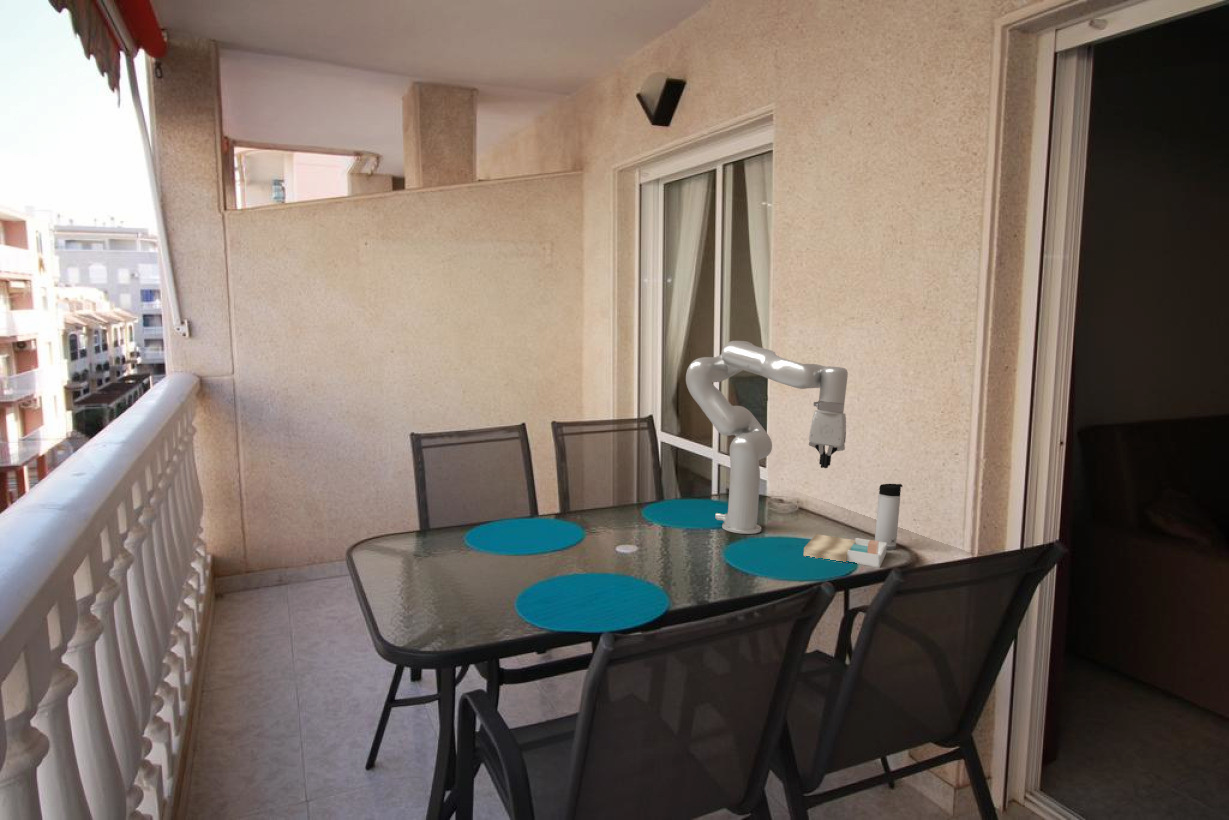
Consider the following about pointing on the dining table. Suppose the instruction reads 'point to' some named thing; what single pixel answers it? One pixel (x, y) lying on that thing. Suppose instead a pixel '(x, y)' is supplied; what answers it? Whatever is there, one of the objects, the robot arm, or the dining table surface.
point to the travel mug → (888, 514)
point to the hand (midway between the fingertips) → (824, 467)
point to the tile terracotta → (873, 547)
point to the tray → (867, 554)
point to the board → (828, 547)
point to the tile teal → (859, 548)
